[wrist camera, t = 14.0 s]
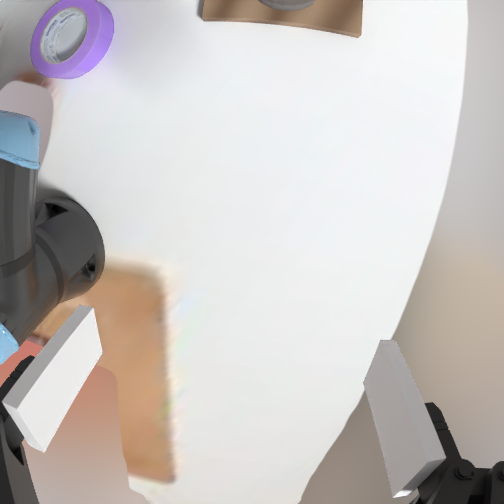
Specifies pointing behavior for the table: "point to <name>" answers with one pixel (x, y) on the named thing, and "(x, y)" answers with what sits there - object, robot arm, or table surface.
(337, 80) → the table surface
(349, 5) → the collar board
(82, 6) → the masking tape
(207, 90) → the table surface
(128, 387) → the table surface
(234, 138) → the table surface
